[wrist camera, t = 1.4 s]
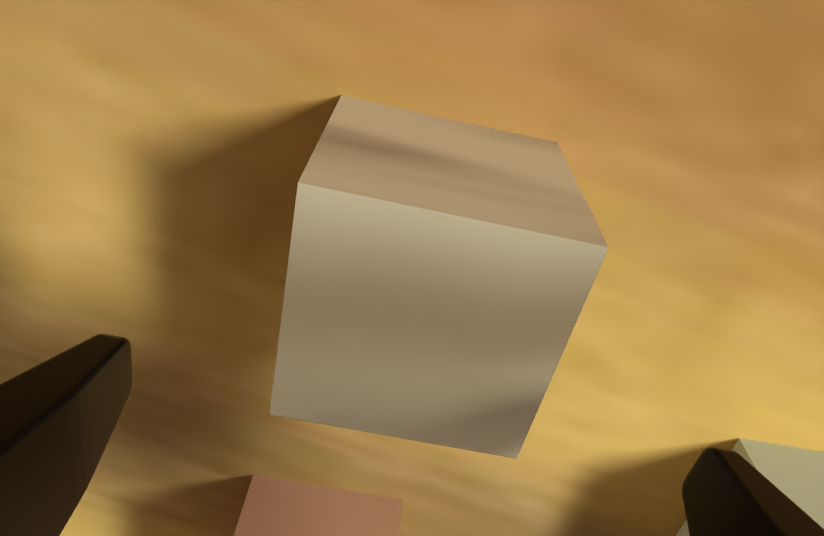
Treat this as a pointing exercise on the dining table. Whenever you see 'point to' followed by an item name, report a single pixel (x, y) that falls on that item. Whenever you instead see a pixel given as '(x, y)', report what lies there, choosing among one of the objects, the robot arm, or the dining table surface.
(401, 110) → the birch cube
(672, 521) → the dining table surface
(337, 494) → the terracotta cube
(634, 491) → the dining table surface
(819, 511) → the sage block
